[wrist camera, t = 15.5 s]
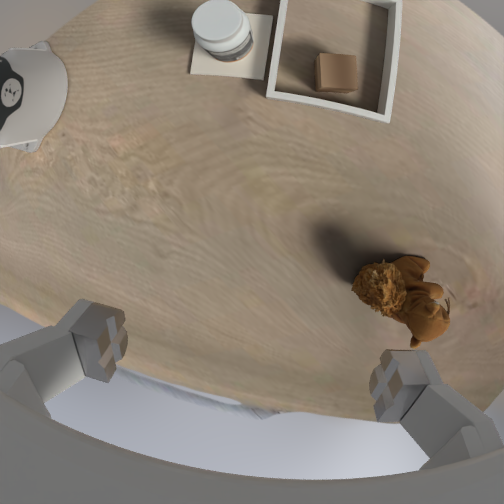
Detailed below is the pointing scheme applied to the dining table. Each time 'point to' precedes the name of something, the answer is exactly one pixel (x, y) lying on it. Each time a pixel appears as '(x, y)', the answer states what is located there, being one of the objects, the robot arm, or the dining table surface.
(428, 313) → the stuffed squirrel
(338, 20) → the dining table surface
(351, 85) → the walnut block
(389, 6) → the tray frame
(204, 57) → the coaster
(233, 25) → the pill bottle
